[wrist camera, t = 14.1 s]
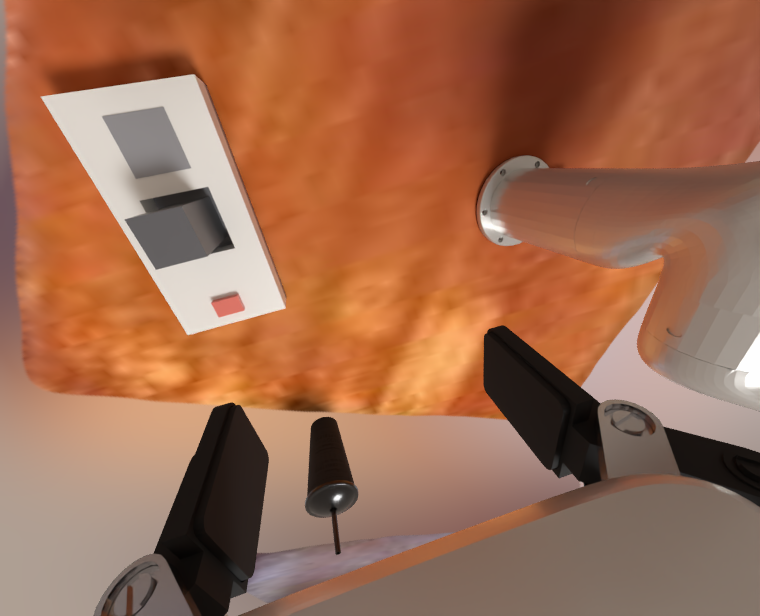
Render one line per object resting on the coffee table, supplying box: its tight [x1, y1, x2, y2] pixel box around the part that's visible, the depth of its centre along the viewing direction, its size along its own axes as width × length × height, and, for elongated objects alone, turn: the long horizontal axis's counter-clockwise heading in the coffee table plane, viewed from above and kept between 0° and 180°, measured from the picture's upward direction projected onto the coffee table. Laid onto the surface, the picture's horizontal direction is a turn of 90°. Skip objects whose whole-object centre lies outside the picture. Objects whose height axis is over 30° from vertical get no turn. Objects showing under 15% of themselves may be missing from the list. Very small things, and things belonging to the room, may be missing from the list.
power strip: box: [41, 74, 286, 335], centre depth 31 cm, size 12×24×5 cm, turn 11°
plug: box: [124, 197, 228, 270], centre depth 28 cm, size 4×4×9 cm
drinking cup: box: [305, 417, 358, 555], centre depth 44 cm, size 8×8×20 cm
